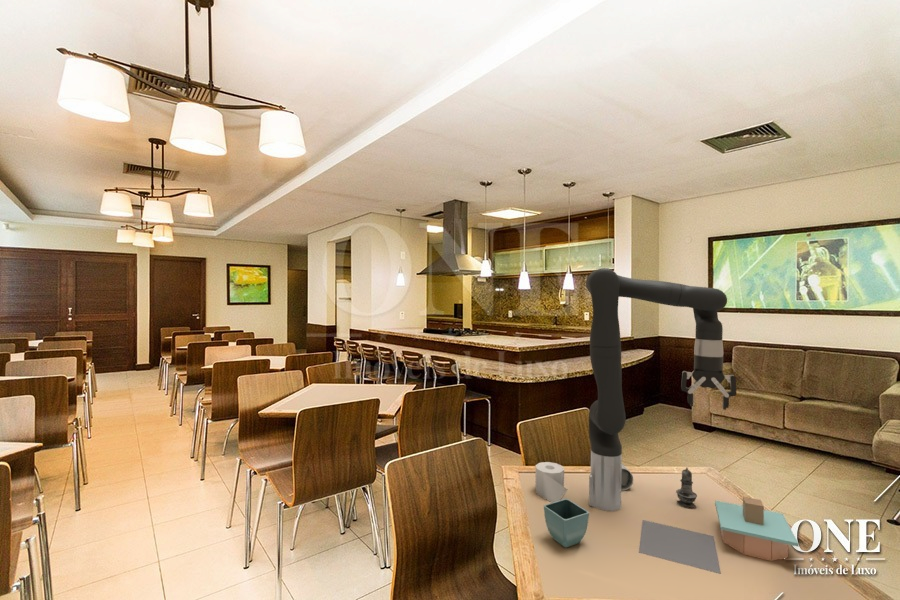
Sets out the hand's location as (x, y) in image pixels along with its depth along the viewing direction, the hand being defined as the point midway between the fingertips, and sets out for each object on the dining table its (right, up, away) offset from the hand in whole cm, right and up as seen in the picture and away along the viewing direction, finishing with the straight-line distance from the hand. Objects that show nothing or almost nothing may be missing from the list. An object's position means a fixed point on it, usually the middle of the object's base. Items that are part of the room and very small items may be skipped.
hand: (707, 407), depth 129 cm
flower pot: (-47, -33, -14) cm, 59 cm away
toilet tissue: (-45, -33, +13) cm, 57 cm away
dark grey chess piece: (-2, -33, +7) cm, 34 cm away
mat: (-17, -33, -16) cm, 41 cm away
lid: (+3, -27, -15) cm, 31 cm away
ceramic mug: (-20, -33, +20) cm, 44 cm away
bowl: (+3, -33, -15) cm, 37 cm away
